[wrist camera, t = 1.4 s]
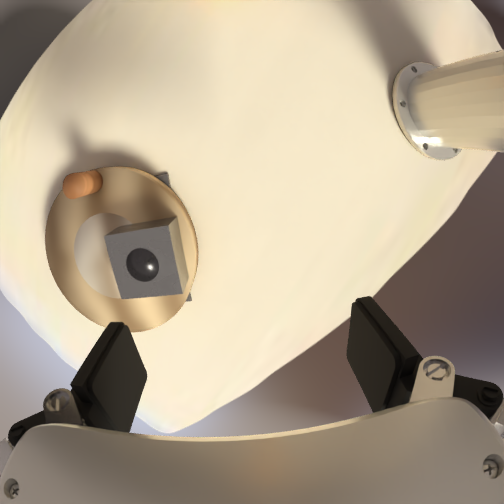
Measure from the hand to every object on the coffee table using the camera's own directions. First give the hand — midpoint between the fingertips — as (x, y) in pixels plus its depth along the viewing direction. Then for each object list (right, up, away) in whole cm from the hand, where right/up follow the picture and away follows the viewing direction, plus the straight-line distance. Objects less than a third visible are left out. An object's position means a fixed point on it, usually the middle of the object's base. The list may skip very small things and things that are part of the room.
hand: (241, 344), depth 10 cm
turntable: (-14, +4, +17) cm, 23 cm away
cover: (-9, +4, +14) cm, 17 cm away
